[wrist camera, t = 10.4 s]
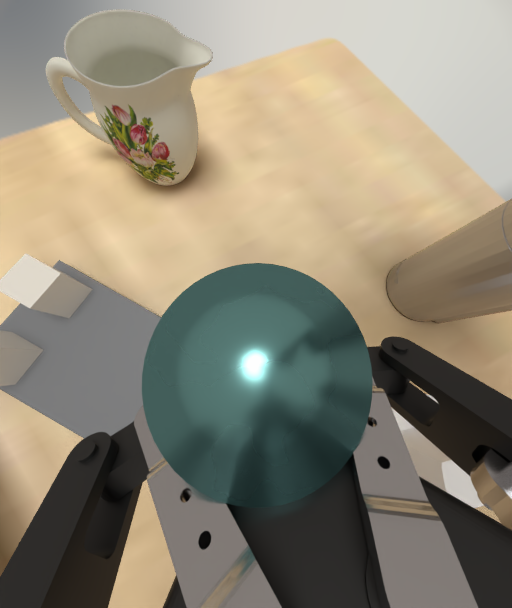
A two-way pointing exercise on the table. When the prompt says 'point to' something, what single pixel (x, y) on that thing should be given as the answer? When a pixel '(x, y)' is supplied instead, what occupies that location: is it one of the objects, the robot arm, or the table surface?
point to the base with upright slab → (437, 464)
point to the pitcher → (135, 88)
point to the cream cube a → (15, 357)
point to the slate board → (85, 359)
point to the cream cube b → (43, 287)
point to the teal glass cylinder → (257, 385)
